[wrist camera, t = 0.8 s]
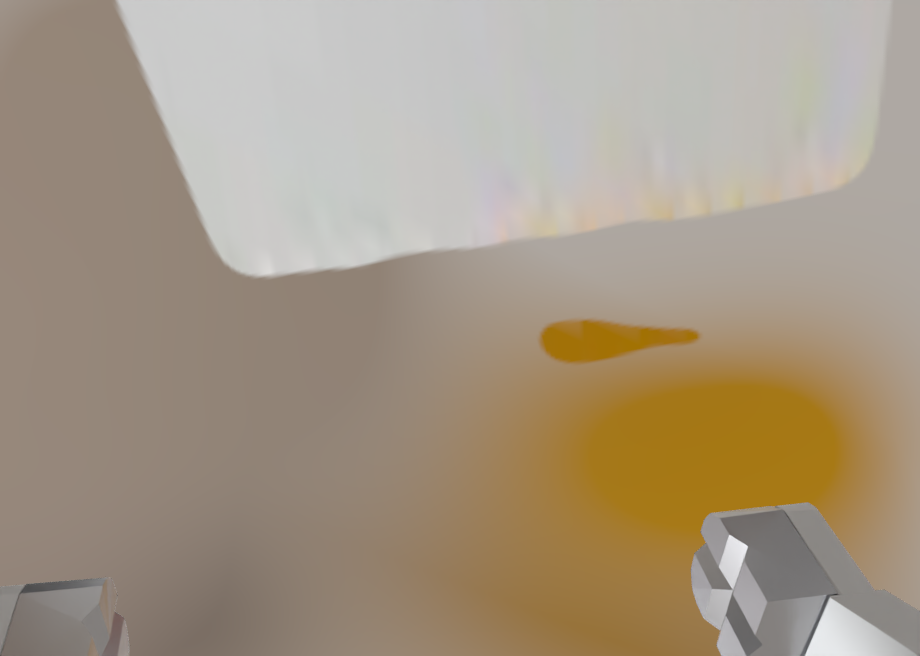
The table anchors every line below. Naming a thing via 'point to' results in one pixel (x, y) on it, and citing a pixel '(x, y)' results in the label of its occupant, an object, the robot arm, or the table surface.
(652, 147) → the table surface
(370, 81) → the table surface
